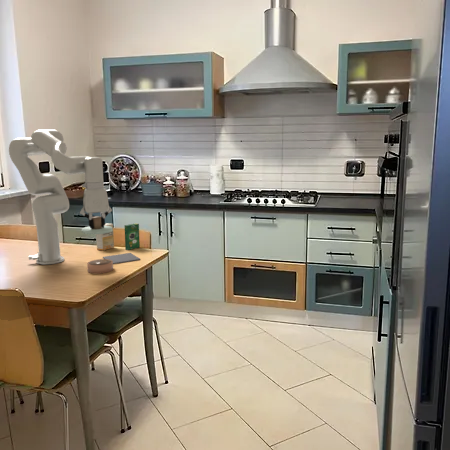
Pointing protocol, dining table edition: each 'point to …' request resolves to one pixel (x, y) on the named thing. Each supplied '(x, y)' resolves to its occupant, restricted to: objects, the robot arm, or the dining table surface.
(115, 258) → the mat
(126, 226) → the coffee box
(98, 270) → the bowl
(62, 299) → the dining table surface
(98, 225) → the lid
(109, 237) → the supplement box
